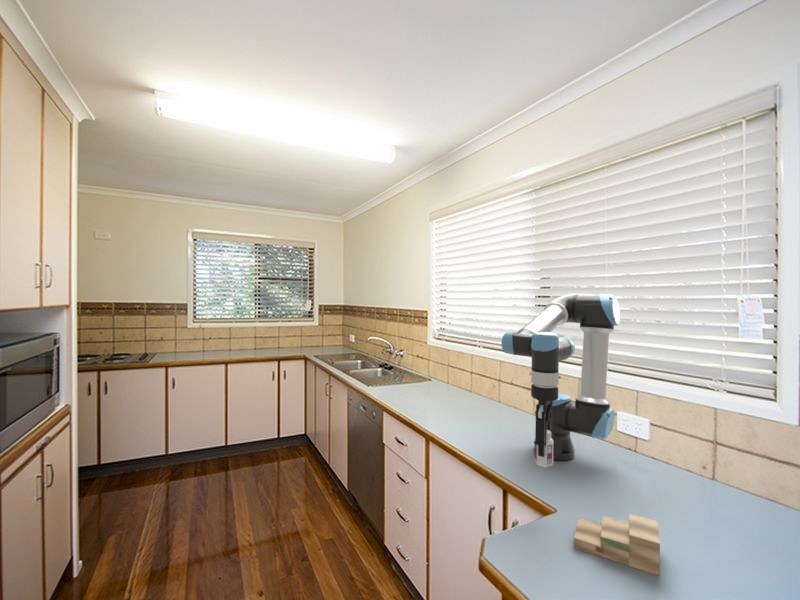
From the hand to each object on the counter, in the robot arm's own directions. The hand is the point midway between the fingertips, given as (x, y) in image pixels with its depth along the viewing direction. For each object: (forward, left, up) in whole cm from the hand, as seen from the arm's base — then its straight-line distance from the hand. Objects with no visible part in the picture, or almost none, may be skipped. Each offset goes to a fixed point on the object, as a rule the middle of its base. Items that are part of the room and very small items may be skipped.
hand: (543, 461), depth 112 cm
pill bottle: (0, 0, -1) cm, 1 cm away
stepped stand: (+8, +19, -15) cm, 25 cm away
